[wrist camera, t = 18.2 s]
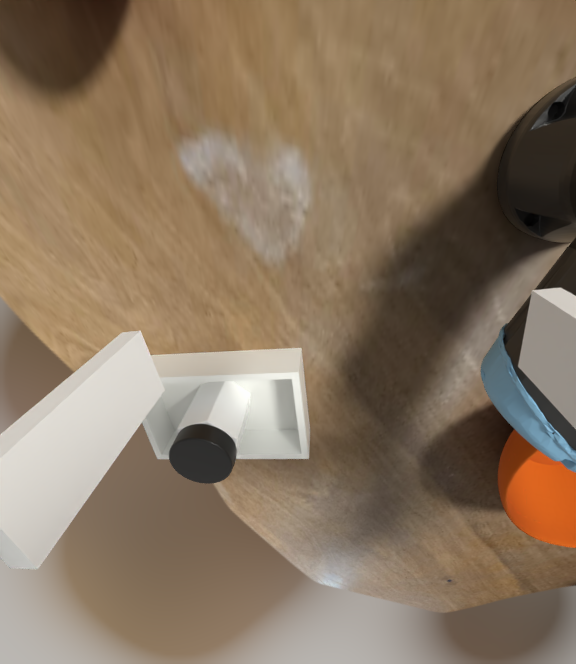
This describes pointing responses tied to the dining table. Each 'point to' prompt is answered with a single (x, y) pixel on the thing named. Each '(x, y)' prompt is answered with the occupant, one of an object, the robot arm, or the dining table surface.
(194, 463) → the jar
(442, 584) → the dining table surface
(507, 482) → the bowl
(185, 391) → the bin
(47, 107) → the dining table surface
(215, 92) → the dining table surface
